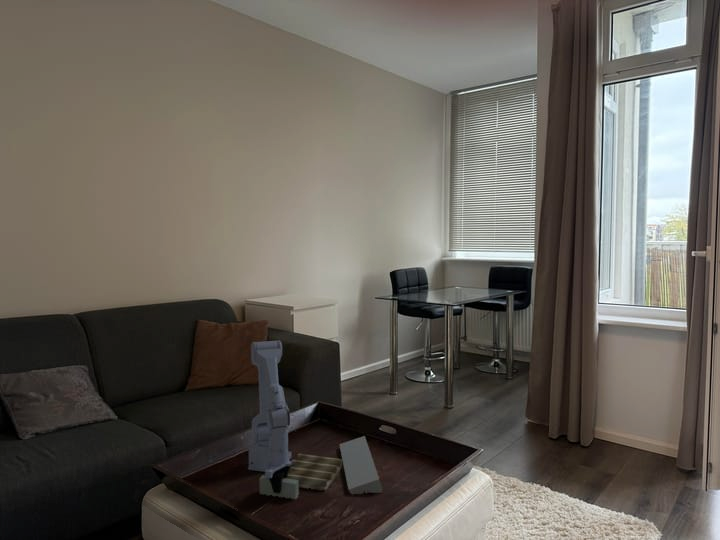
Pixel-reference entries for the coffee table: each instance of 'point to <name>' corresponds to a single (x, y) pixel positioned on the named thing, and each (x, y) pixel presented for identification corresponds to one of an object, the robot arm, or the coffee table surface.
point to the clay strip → (287, 489)
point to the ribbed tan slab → (314, 471)
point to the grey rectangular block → (359, 467)
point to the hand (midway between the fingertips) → (279, 490)
